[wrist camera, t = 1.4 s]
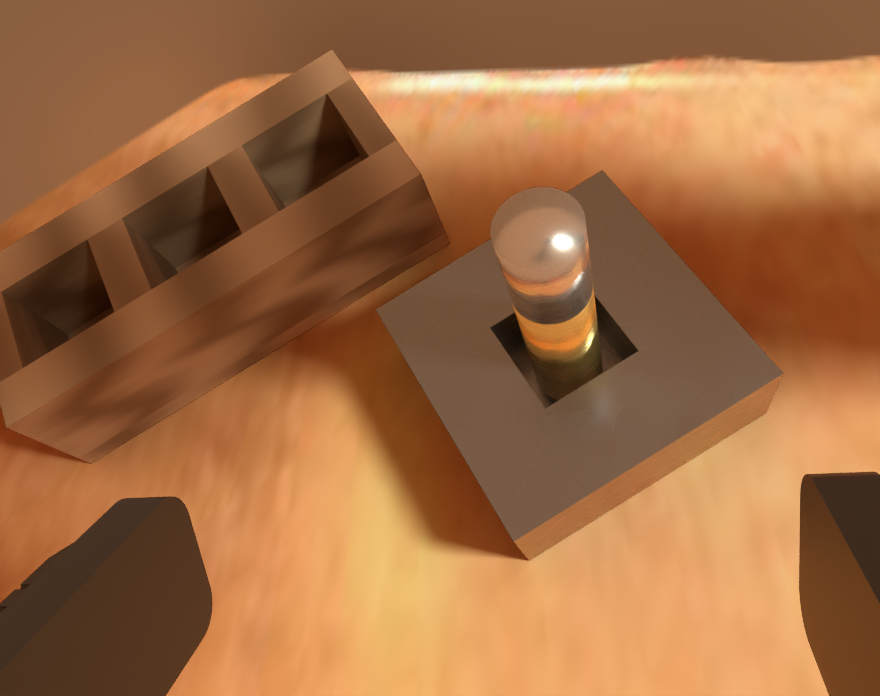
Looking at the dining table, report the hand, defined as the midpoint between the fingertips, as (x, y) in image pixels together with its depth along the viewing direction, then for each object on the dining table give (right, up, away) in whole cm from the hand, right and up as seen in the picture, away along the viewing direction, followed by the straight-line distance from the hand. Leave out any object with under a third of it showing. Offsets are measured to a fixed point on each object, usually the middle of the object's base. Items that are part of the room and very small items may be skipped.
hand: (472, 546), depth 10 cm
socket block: (+6, +1, +26) cm, 26 cm away
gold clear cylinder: (+5, +2, +25) cm, 25 cm away
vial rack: (-12, +6, +32) cm, 35 cm away
